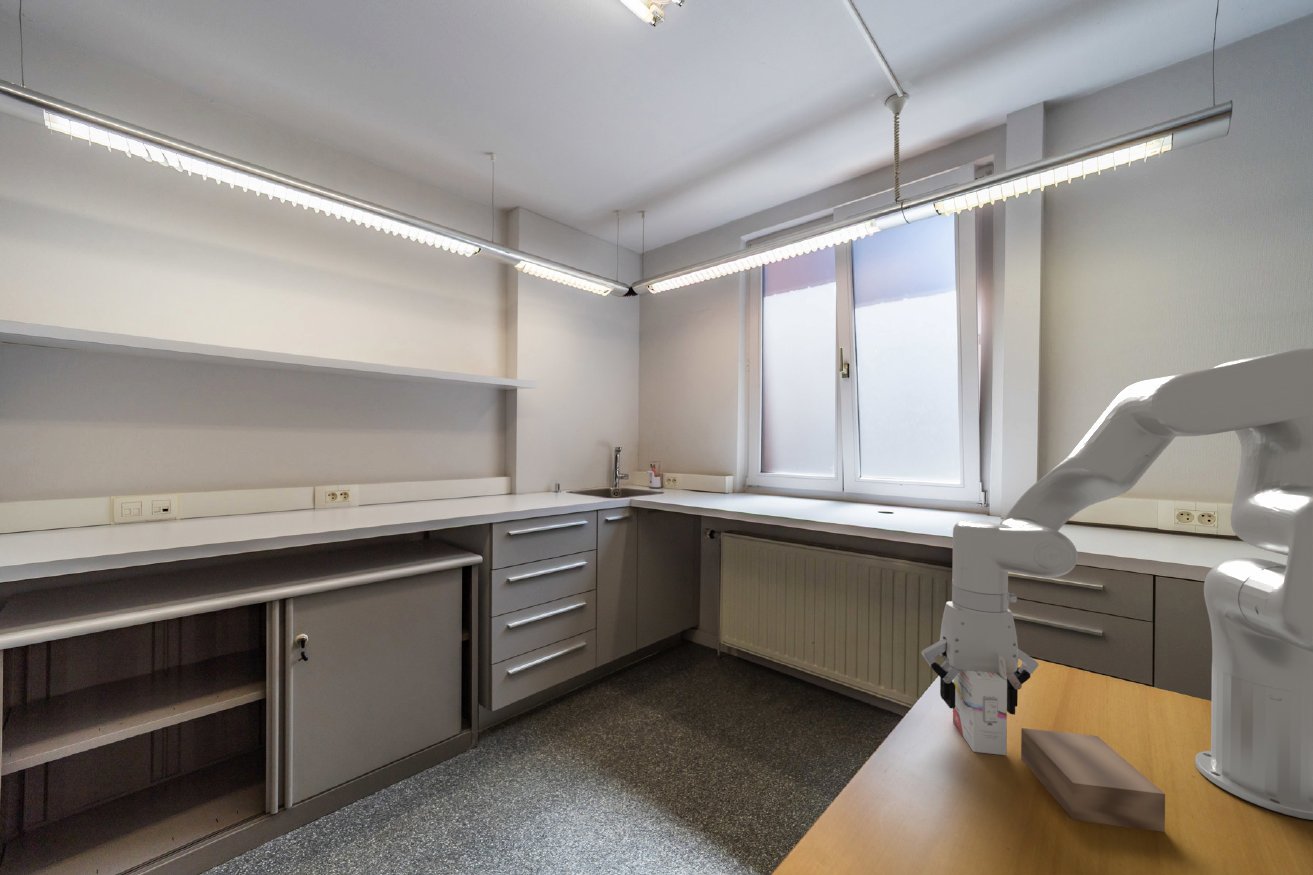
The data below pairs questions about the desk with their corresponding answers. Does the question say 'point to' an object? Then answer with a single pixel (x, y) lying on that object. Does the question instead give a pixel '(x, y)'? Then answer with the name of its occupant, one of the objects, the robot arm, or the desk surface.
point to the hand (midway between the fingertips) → (977, 706)
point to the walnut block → (1092, 780)
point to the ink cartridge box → (982, 709)
